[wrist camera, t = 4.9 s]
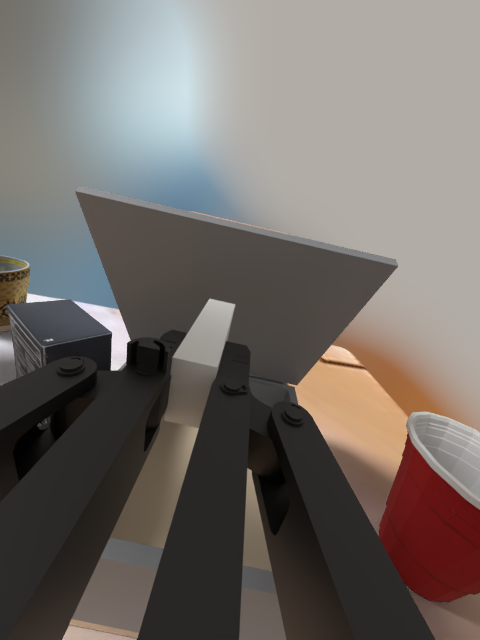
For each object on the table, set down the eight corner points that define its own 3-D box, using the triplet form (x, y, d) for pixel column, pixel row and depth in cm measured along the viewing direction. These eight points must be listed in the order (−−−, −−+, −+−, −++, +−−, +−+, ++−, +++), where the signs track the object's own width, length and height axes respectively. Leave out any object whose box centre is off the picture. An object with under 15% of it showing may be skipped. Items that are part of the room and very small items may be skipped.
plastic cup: (508, 591, 21) (620, 503, 16) (466, 707, 15) (625, 618, 10) (386, 476, 29) (438, 395, 24) (327, 521, 23) (382, 425, 18)
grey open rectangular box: (-5, 609, 15) (-32, 530, 12) (132, 407, 30) (135, 351, 27) (293, 670, 15) (342, 608, 12) (275, 438, 31) (294, 387, 28)
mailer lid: (75, 190, 14) (84, 183, 14) (134, 348, 27) (137, 341, 28) (398, 266, 14) (394, 255, 15) (296, 385, 27) (297, 377, 28)
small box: (114, 409, 30) (116, 331, 26) (49, 439, 25) (39, 348, 21) (75, 366, 35) (72, 296, 31) (15, 384, 30) (2, 303, 26)
